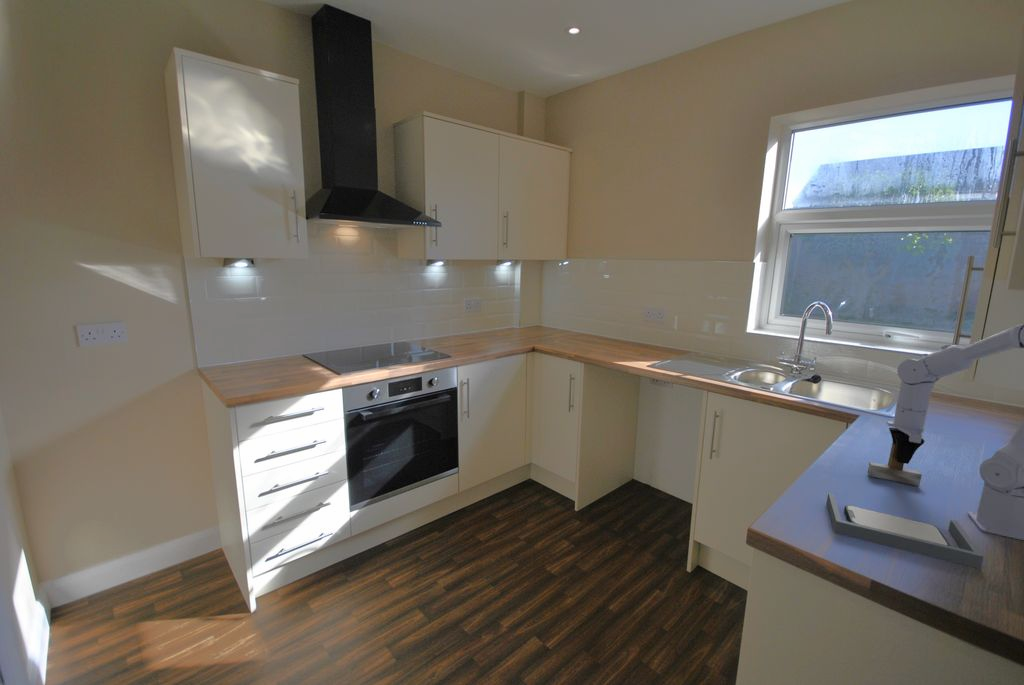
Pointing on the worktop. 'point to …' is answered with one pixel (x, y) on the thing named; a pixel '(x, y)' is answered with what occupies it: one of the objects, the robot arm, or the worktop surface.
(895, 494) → the worktop surface
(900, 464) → the scraper
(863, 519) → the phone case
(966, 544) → the dock
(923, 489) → the worktop surface
